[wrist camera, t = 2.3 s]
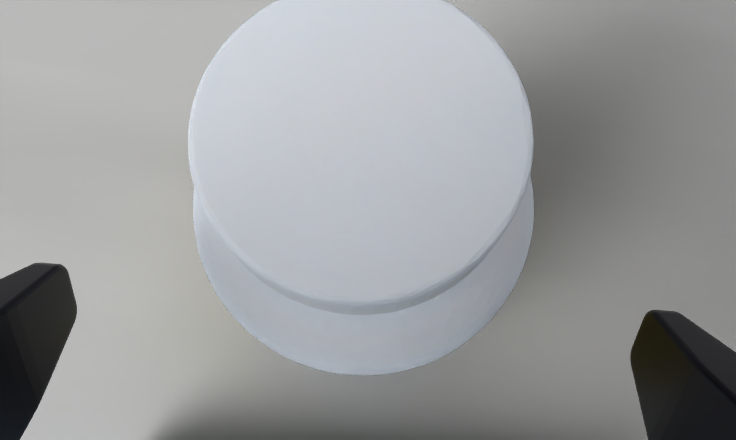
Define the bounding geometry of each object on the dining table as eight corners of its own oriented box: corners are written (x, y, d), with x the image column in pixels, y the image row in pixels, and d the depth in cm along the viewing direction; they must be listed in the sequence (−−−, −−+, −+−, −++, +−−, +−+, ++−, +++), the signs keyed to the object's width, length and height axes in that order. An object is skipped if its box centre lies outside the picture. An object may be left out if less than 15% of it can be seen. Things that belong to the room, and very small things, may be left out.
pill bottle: (486, 208, 20) (653, -8, 8) (432, 401, 18) (546, 455, 7) (302, 151, 20) (224, -127, 9) (234, 335, 19) (33, 284, 7)
